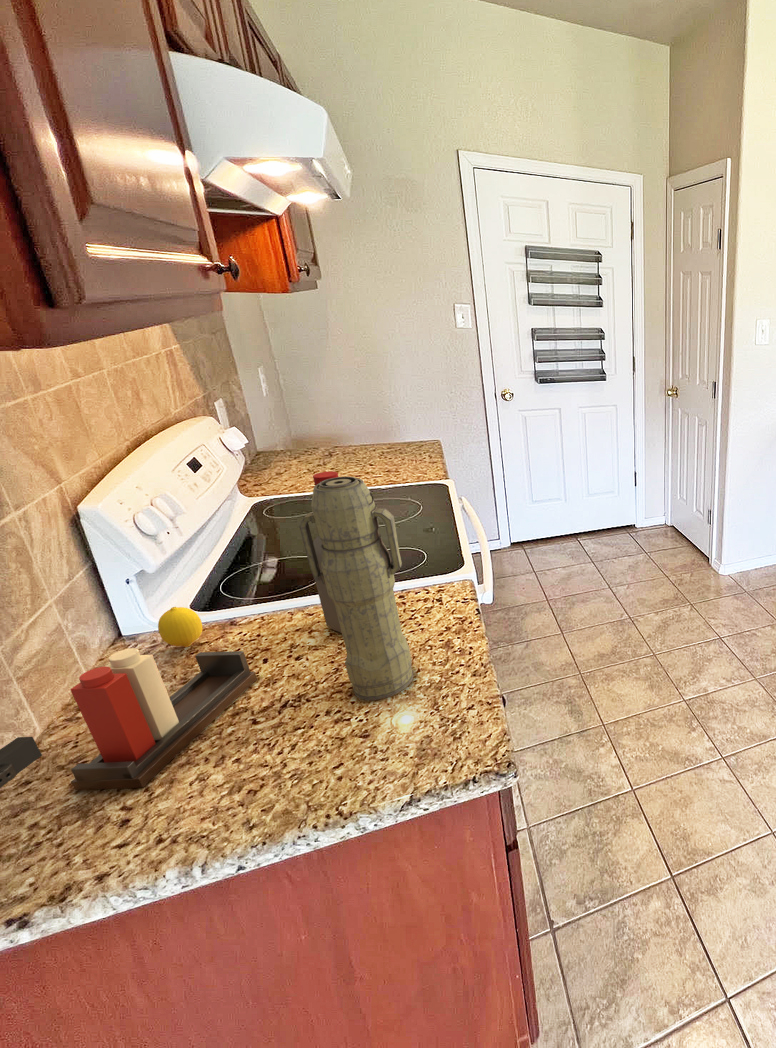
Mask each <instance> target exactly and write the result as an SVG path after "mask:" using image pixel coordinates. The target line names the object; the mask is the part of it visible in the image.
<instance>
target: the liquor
mask: <svg viewBox="0 0 776 1048" xmlns="http://www.w3.org/2000/svg"><path fill="white" fill-rule="evenodd" d="M336 477H339V473H338V472H337V471H331V470H330V471H321V472H318V473H314V474H313V475H312V479H313V483H314V486H315V485H317V484H319V483H320V482H322V481H324V480H327V479H330V478H336ZM313 544H314V548H315V552H316V556H317V560H318V564H319V567H320V573H321V572H322V568H321V560H322V554H323V551H322V547H321V545H322V540H321V539H320V537H319V535H318V534H317V536H316V537H315V538H314V539H313ZM314 583H315V586H316V590H317V594H318V597H319V601H320V605H321V609H322V612H323V616H324V620H325V624H326V627H328V628H329V629H330V630H333V631H335V632H338V633H340V634H342V632H341V628H340V624H339V620H338V616H337V612H336V608H335V604H334V602H333V601H332V600H331V599H330V597H329V595H328V592H327V588H326V584H323V583H322V580H321V581H315V580H314Z"/></svg>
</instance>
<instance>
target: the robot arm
mask: <svg viewBox="0 0 776 1048" xmlns="http://www.w3.org/2000/svg"><path fill="white" fill-rule="evenodd" d="M42 756H43V754H42V752H41V750H40V749H39V747H38V745H37V743H36V741H35V739H34V737H33V736H17V737H16V738H15V739H13V740H11V741H10V742H9V743H8V744H5V745H4V746H3V747H1V748H0V789H1V788H3V787H4V786H5V785H6V784H8V783H9V782H11V781H12V780H13V779H15V777H16V776H17V775H18V774H19V773H21V772H22V771H23V770H25V769H26V768H28V767H29V766H31V764H33V763H34V762H35V761H37V760H38V759H39V758H41V757H42Z"/></svg>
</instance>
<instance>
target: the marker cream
mask: <svg viewBox="0 0 776 1048" xmlns="http://www.w3.org/2000/svg"><path fill="white" fill-rule="evenodd" d="M108 661H109V662H108V663H107V664H105V665H104V666H103V667H110V668H111V670H112V672H113V674H120V673H126V675H127V677H128V679H129V682H130V684H131V686H132V689H133V691H134V693H135V696H136V698H137V701H138V703H139V705H140V708H141V710H142V712H143V715H144V717H145V719H146V722H147V724H148V726H149V729H150V731H151V734H152V736H153V738H154V740H160V739H162V738H163V737H164V736H165V735H166V734H167V733H168V732H169V731H171V730H172V729H173V728H174V727H175V726H176V725H177V724H178V723H179V721H178V718H177V716H176V713H175V711H174V708H173V706H172V703H171V700H170V698H169V697H170V696H169V693H168V691H167V687H166V685H165V683H164V681H163V678H162V676H161V673H160V671H159V668H158V666H157V663H156V660H155V658H154V655H153V654H141V652H140V650H139V649H138V648H136V647H130V648H125V649H121V650H118V651H116V652H114V653H112V654H111V655H109V657H108Z"/></svg>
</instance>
